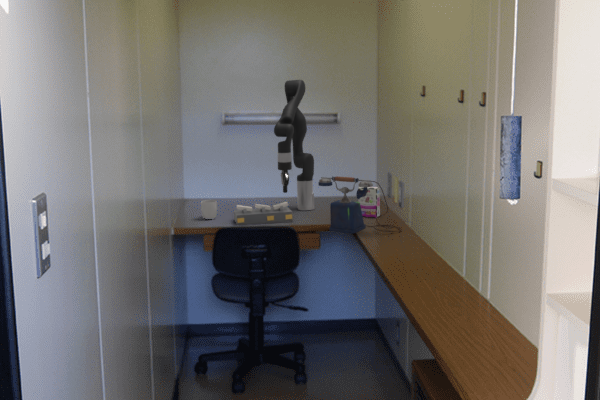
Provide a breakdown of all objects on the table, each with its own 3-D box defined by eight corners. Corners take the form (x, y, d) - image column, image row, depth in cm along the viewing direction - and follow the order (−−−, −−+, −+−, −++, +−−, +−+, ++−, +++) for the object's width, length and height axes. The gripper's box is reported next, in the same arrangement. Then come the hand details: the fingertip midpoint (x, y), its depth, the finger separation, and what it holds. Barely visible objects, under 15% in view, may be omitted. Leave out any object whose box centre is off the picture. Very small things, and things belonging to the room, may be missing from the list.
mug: (219, 219, 353) (218, 201, 351) (203, 221, 350) (202, 203, 348) (214, 215, 365) (213, 198, 363) (199, 216, 362) (198, 199, 360)
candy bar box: (380, 216, 351) (380, 186, 348) (377, 218, 346) (377, 188, 343) (361, 214, 356) (361, 185, 353) (358, 216, 352) (357, 187, 349)
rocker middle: (269, 208, 348) (269, 205, 348) (270, 209, 345) (270, 207, 344) (254, 206, 347) (255, 203, 346) (255, 207, 343) (256, 205, 342)
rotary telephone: (407, 228, 322) (407, 175, 317) (389, 237, 304) (390, 181, 298) (335, 220, 343) (334, 170, 338) (315, 229, 324) (314, 176, 319)
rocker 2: (287, 204, 350) (286, 201, 350) (288, 205, 346) (287, 202, 346) (273, 208, 349) (272, 205, 349) (274, 209, 345) (273, 206, 345)
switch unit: (287, 216, 357) (287, 202, 355) (292, 221, 343) (292, 207, 342) (234, 220, 351) (233, 205, 349) (237, 225, 337) (236, 210, 335)
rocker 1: (250, 209, 346) (251, 206, 346) (251, 211, 343) (252, 208, 342) (236, 207, 344) (236, 204, 344) (237, 209, 341) (237, 206, 340)
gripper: (293, 162, 338) (294, 194, 341) (289, 159, 351) (289, 190, 354) (279, 162, 337) (280, 194, 340) (275, 159, 349) (276, 190, 352)
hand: (285, 192), depth 347 cm, fingers closed
